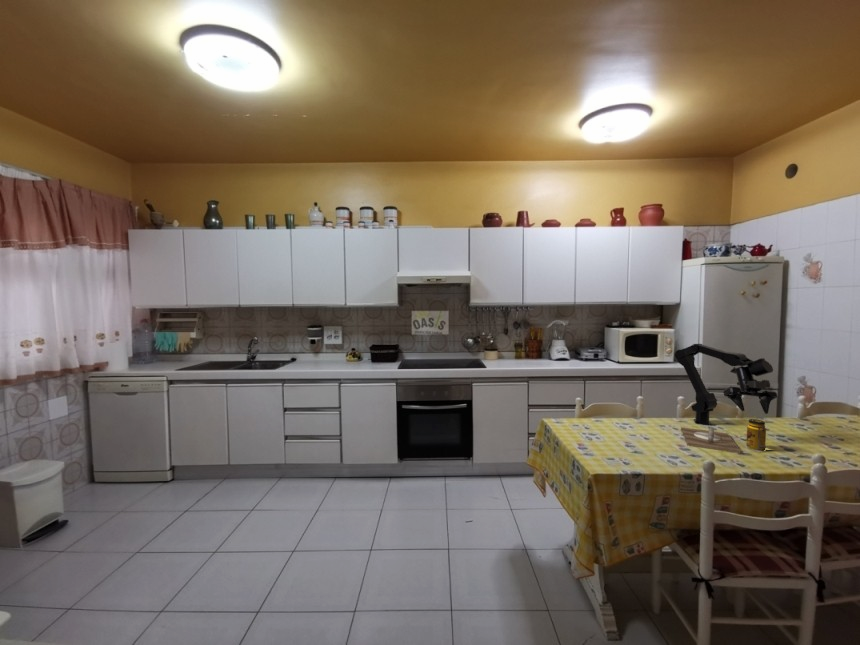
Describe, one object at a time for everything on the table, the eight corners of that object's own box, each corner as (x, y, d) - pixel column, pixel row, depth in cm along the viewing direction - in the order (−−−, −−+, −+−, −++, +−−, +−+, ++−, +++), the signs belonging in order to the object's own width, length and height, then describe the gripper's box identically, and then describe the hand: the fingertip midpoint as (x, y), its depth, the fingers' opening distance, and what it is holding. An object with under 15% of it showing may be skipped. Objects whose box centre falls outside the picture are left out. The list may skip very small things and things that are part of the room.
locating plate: (680, 429, 181) (681, 415, 180) (727, 435, 172) (727, 420, 172) (687, 445, 161) (688, 429, 161) (740, 453, 153) (740, 436, 152)
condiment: (740, 445, 161) (742, 418, 160) (757, 444, 162) (758, 417, 162) (758, 452, 154) (759, 424, 153) (775, 451, 155) (776, 422, 154)
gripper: (734, 369, 165) (742, 403, 158) (781, 374, 162) (792, 409, 155) (719, 379, 175) (727, 411, 167) (763, 384, 172) (773, 417, 164)
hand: (754, 412), depth 163 cm, fingers open, 9 cm apart
